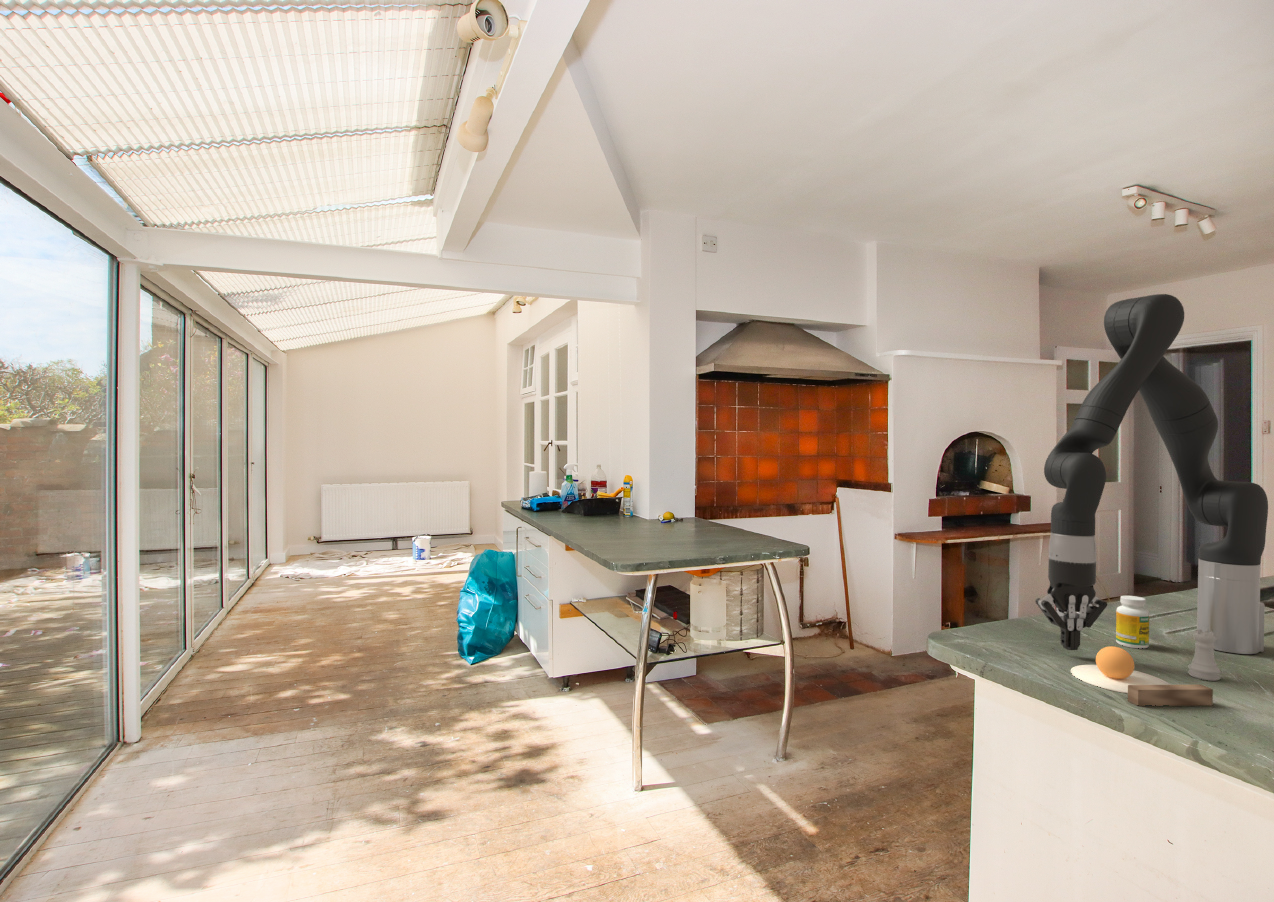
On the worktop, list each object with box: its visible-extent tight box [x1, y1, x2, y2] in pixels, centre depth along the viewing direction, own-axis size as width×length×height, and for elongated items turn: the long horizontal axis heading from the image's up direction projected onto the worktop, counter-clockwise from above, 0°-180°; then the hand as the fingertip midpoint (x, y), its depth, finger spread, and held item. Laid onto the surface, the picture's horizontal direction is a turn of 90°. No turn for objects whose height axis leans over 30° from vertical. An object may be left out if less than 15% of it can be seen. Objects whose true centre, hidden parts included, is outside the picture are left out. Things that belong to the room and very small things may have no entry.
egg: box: [1095, 645, 1135, 679], centre depth 113 cm, size 5×5×5 cm
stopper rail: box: [1127, 684, 1214, 707], centre depth 102 cm, size 12×2×2 cm, turn 93°
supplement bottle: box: [1115, 595, 1150, 650], centre depth 132 cm, size 5×5×10 cm
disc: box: [1070, 664, 1171, 694], centre depth 112 cm, size 14×14×1 cm
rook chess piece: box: [1187, 629, 1222, 682], centre depth 114 cm, size 4×4×8 cm
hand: (1070, 648), depth 124 cm, fingers closed
